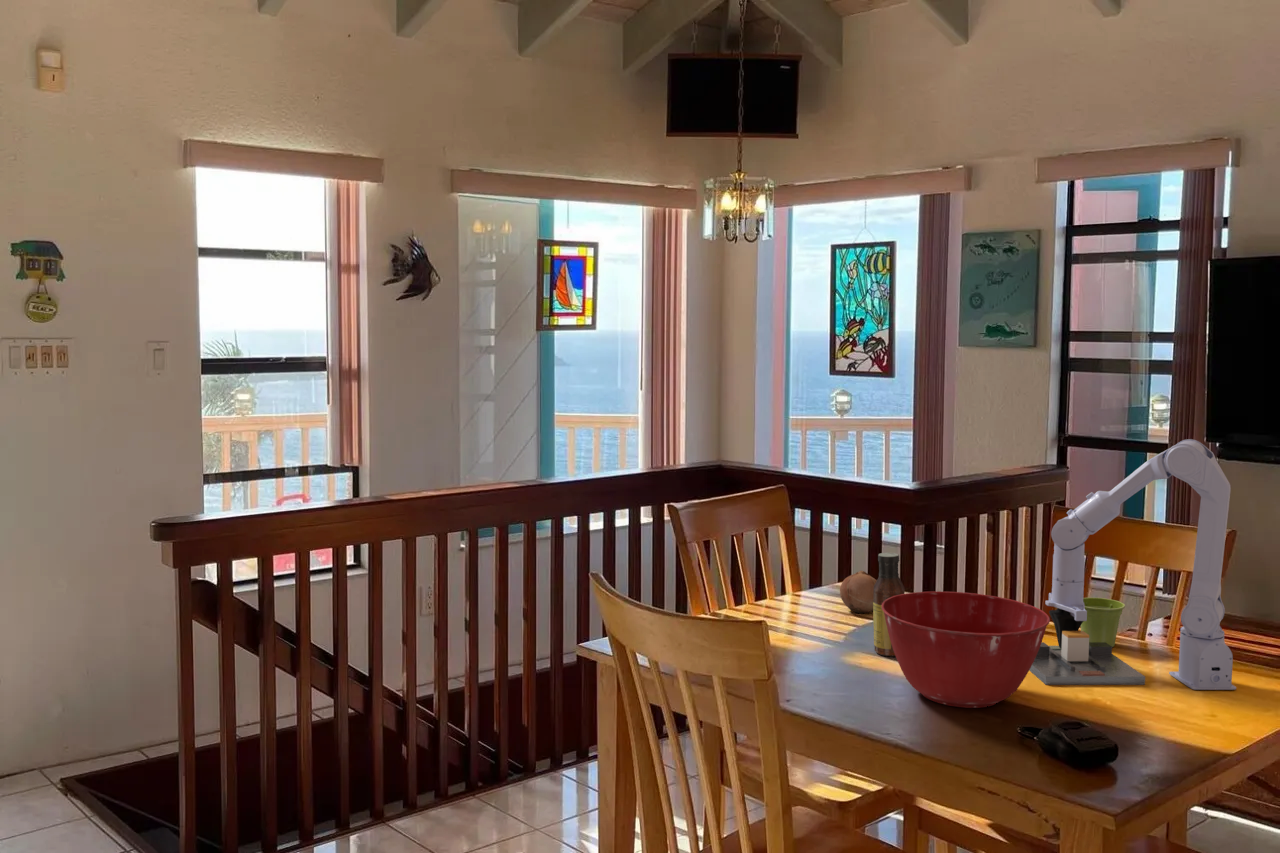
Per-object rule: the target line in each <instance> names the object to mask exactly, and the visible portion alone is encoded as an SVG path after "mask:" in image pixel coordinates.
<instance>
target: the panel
mask: <svg viewBox="0 0 1280 853" xmlns="http://www.w3.org/2000/svg"><path fill="white" fill-rule="evenodd" d="M1029 671H1030V673H1031V674H1033V675H1034V676H1035V677H1036V678H1038V679H1039V680H1040V681H1041V682H1042V683H1043V684H1044V685H1046V686H1049V685H1050V686H1051V685H1053V686H1061V685H1062V686H1063V685H1065V686H1070V685H1071V686H1076V685H1077V686H1078V685H1080V686H1081V685H1082V686H1086V685H1087V686H1094V685H1095V686H1097V685H1099V686H1101V685H1103V686H1104V685H1105V686H1108V685H1109V686H1111V685H1113V686H1114V685H1115V686H1121V685H1122V686H1123V685H1125V686H1129V685H1131V686H1132V685H1134V686H1136V685H1137V686H1139V685H1140V686H1142V685H1143V686H1144V685H1146V676H1145V675H1143V674H1142V673H1141V672H1139V671H1138V670H1136V669H1135V668H1134V667H1132V666H1131V665H1130V664H1128V663H1126V662H1125V661H1123V660H1122V659H1121V658H1119V657H1118V656H1117V655H1114V653H1113V647H1112V646H1110V645H1109V644H1107V643H1106V642H1089V656H1088V661H1067V660H1065V659H1064V658H1063V657H1062V656H1061V648H1059V645H1048V644H1047V643H1046V642H1045V641H1042V642H1041V645H1040V648H1039V650H1038V653H1037V655H1036V658H1035V660H1034V662H1033V664H1032V666H1031V668H1030V670H1029Z"/></svg>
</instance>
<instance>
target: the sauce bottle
mask: <svg viewBox="0 0 1280 853" xmlns="http://www.w3.org/2000/svg"><path fill="white" fill-rule="evenodd" d="M877 561H878V570H879V571H878V578H877V579H876V580H877V581H876V583H875V585H874V596H873V611H872V612H873V613H872V615H873V618H872V619H873V620H872V623H873V647H874V651H875V653H876V654H878V655H880V656H884V657H885V656H887V657H896V656H895V653H894V650H893V647H892V644H891V641H890V637H889V634H888V629H887V625H886V620H885V615H884V612H883V610H882V607H881V606H882V603H883V602H884V601H885V600H886V599H888V598H890V597H893V596H896V595H901V594H906V592H905V588H906V587H905V586H904V584H903V582H902V579H901V578H900V576H899V575H900V573H899V563H900V555H899V554H898V553H895V552H881V553H878V555H877Z"/></svg>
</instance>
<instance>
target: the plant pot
mask: <svg viewBox="0 0 1280 853" xmlns="http://www.w3.org/2000/svg"><path fill="white" fill-rule="evenodd" d="M1083 602H1084V605H1085V610H1086V611H1087V621H1083V623H1082V624H1081V626H1080V631H1084V632H1085V633H1087V634H1088V635H1089V642H1106V643H1107V644H1109V645H1110V646H1112V648H1113V647H1115V644H1116V641H1117V640H1116V638H1117V634H1118V628H1119V624H1120V619H1121V615H1122V614H1123V610H1124V609H1125V608H1126V604H1125V603H1123V602H1121V601H1119V600H1115V599H1110V598H1103V597H1083Z"/></svg>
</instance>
